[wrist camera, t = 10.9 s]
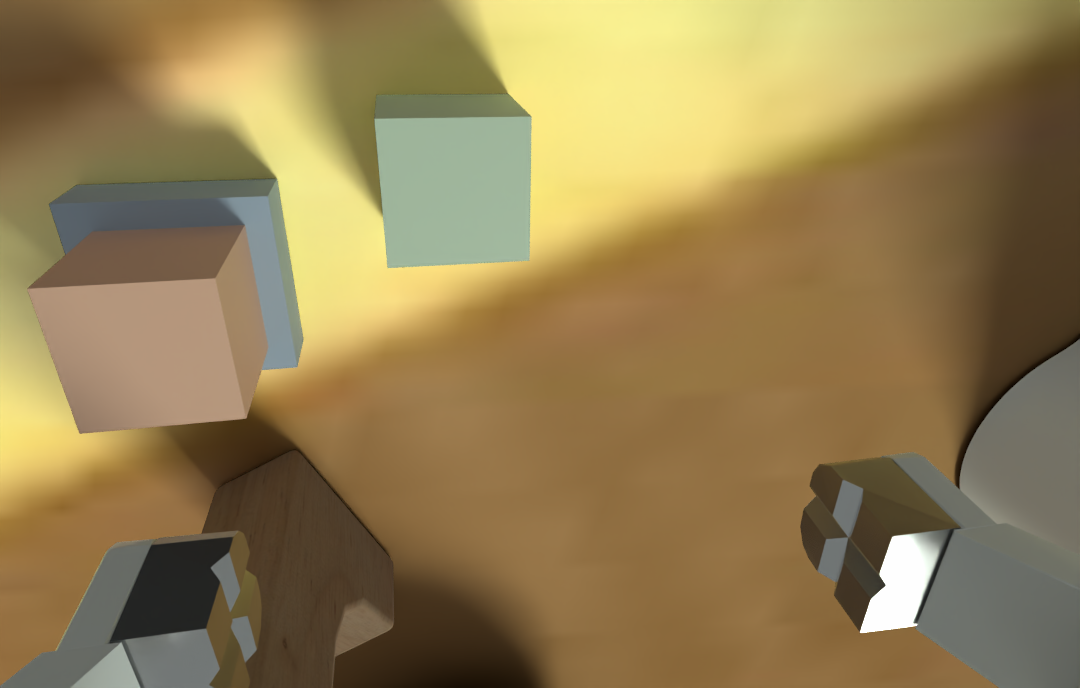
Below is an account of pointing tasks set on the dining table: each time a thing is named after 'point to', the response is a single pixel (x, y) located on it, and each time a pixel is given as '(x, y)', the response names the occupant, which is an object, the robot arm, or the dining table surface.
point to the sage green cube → (454, 178)
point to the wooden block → (304, 571)
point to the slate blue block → (201, 208)
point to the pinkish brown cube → (154, 327)
